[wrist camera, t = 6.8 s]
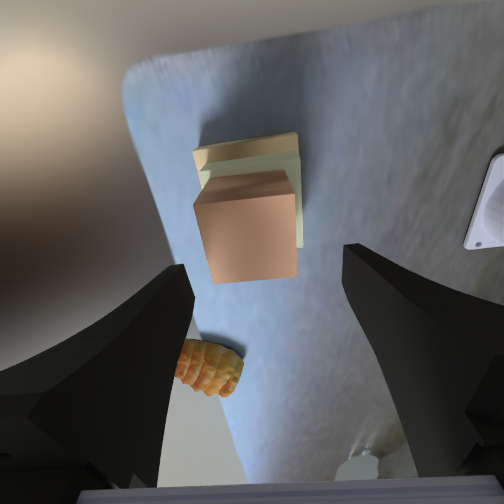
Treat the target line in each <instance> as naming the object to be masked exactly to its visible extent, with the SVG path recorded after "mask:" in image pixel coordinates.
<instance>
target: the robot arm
mask: <svg viewBox="0 0 504 504" xmlns="http://www.w3.org/2000/svg"><path fill="white" fill-rule="evenodd" d="M476 243H477V244H476ZM463 246H464V247H465V248H466V249H468V250H472V249H480V248H489V247H498V246H504V153H502V154H498V155H496V156H495V157H494V158H493V159H492V160H491V163H490V166H489V169H488V172H487V175H486V178H485V181H484V184H483V187H482V190H481V193H480V196H479V199H478V202H477V205H476V208H475V211H474V214H473V217H472V220H471V223H470V226H469V229H468V232H467V235H466V238H465V241H464V245H463ZM342 285H343V288H344V291H345V294H346V296H347V299H348V302H349V304H350V306H351V308H352V310H353V312H354V314H355V315H356V317H357V319H358V321H359V323H360V325H361V327H362V329H363V331H364V333H365V335H366V337H367V338H368V340H369V342H370V344H371V346H372V348H373V350H374V353H375V355H376V357H377V360H378V362H379V365H380V367H381V370H382V372H383V375H384V377H385V380H386V382H387V385H388V388H389V391H390V393H391V396H392V399H393V401H394V404H395V407H396V410H397V412H398V415H399V418H400V421H401V424H402V427H403V430H404V432H405V435H406V438H407V441H408V444H409V447H410V451H411V454H412V457H413V460H414V463H415V466H416V469H417V472H418V475H419V478H399V479H375V480H374V479H373V480H348V481H320V482H293V483H267V484H241V485H213V486H187V487H161V488H157V481H158V472H159V465H160V457H161V449H162V442H163V436H164V430H165V423H166V417H167V412H168V406H169V401H170V395H171V390H172V385H173V380H174V376H175V371H176V367H177V364H178V360H179V357H180V354H181V351H182V348H183V344H184V341H185V338H186V335H187V332H188V329H189V325H190V322H191V319H192V314H193V309H194V302H195V296H194V293H193V290H192V287H191V284H190V281H189V278H188V276H187V273H186V270H185V267H184V264H178V265H170V266H169V267H168V268H166V269H165V270H164V271H162V272H161V273H160V274H159V275H157V276H156V277H155V278H154V279H153V280H152V281H150V282H149V283H148V284H147V285H145V286H144V287H143V288H142V289H141V290H139V291H138V292H137V293H136V294H135V295H133V296H132V297H130V298H129V299H128V300H127V301H125V302H124V303H123V304H121V305H120V306H119V307H117V308H116V309H115V310H113V311H112V312H110V313H109V314H107V315H106V316H104V317H103V318H101V319H100V320H98V321H97V322H95V323H94V324H92V325H91V326H89V327H87V328H85V329H84V330H82V331H80V332H78V333H77V334H75V335H73V336H72V337H70V338H68V339H66V340H65V341H63V342H61V343H59V344H57V345H55V346H53V347H51V348H49V349H47V350H46V351H44V352H41V353H39V354H37V355H36V356H33V357H31V358H29V359H27V360H25V361H23V362H21V363H19V364H16V365H14V366H12V367H10V368H7V369H5V370H3V371H0V504H504V306H503V305H500V304H496V303H493V302H490V301H487V300H483V299H480V298H477V297H474V296H471V295H468V294H465V293H462V292H459V291H457V290H454V289H451V288H449V287H446V286H444V285H441V284H439V283H436V282H434V281H431V280H429V279H427V278H424V277H422V276H420V275H418V274H416V273H414V272H412V271H409V270H407V269H405V268H403V267H401V266H399V265H398V264H396V263H394V262H392V261H390V260H388V259H386V258H385V257H383V256H381V255H379V254H377V253H376V252H374V251H372V250H370V249H368V248H367V247H365V246H363V245H361V244H359V243H356V244H348V245H344V248H343V267H342Z"/></svg>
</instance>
